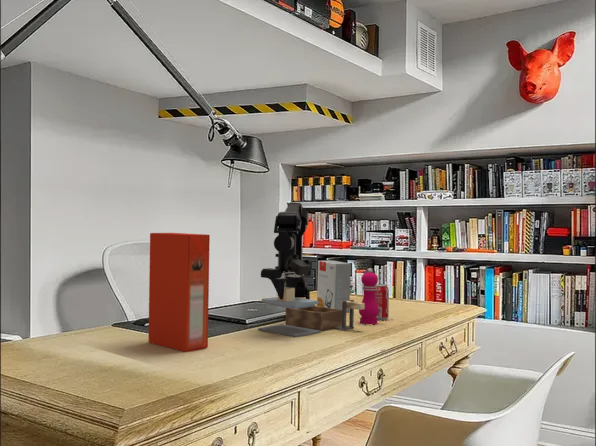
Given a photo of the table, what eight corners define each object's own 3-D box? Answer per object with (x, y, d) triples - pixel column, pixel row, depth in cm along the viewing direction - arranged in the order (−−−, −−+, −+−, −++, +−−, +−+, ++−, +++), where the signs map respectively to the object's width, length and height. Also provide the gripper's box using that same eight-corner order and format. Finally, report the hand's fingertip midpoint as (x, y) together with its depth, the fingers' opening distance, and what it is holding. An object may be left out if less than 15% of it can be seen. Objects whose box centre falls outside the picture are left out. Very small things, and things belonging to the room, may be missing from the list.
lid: (261, 304, 205) (261, 286, 205) (284, 301, 213) (284, 284, 213) (295, 309, 195) (296, 291, 195) (318, 306, 203) (319, 288, 203)
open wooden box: (285, 325, 216) (286, 296, 216) (309, 321, 226) (310, 294, 226) (330, 333, 203) (331, 303, 203) (354, 328, 212) (354, 299, 212)
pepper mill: (372, 325, 219) (373, 269, 219) (354, 323, 223) (356, 267, 223) (382, 323, 225) (383, 268, 225) (365, 320, 229) (366, 266, 229)
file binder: (184, 352, 168) (187, 234, 168) (147, 342, 180) (150, 232, 180) (207, 348, 174) (210, 234, 174) (170, 339, 186) (172, 232, 186)
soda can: (389, 320, 231) (390, 286, 231) (370, 320, 231) (371, 285, 231) (387, 317, 238) (388, 284, 238) (368, 317, 238) (369, 283, 238)
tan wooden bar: (341, 307, 211) (341, 301, 211) (345, 306, 213) (345, 300, 213) (360, 309, 206) (360, 303, 206) (364, 309, 207) (364, 303, 207)
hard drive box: (316, 307, 261) (317, 260, 261) (332, 307, 264) (333, 260, 264) (333, 313, 247) (334, 263, 247) (350, 312, 250) (351, 263, 250)
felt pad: (257, 329, 205) (257, 328, 205) (282, 325, 214) (282, 324, 214) (296, 337, 194) (296, 335, 194) (320, 332, 203) (320, 330, 203)
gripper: (285, 253, 190) (284, 304, 190) (324, 251, 204) (323, 299, 204) (260, 251, 197) (258, 300, 198) (298, 249, 211) (297, 295, 211)
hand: (285, 298), depth 202 cm, fingers closed on lid, 4 cm apart
